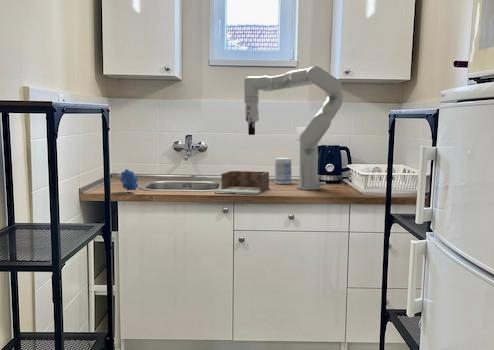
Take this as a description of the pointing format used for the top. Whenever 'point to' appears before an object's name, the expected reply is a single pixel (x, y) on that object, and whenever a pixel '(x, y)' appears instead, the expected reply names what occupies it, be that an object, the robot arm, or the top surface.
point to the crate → (245, 180)
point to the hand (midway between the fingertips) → (251, 134)
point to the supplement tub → (283, 170)
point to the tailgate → (240, 191)
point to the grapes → (129, 180)
